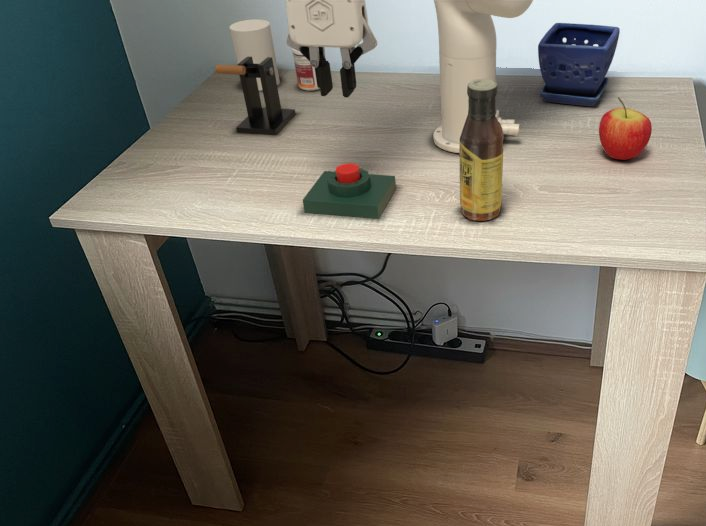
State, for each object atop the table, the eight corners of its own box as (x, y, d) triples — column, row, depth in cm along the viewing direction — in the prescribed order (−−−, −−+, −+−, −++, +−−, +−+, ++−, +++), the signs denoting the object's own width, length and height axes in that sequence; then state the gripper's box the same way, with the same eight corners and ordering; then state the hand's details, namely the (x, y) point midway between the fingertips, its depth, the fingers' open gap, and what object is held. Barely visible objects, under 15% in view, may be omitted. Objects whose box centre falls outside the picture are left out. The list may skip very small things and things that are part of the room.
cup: (284, 77, 160) (274, 19, 152) (274, 90, 153) (263, 31, 146) (248, 77, 160) (236, 19, 153) (236, 90, 154) (224, 31, 147)
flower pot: (601, 112, 138) (608, 47, 130) (533, 105, 142) (536, 42, 134) (614, 87, 147) (621, 25, 139) (550, 81, 151) (553, 21, 143)
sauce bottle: (458, 204, 112) (455, 75, 100) (498, 201, 113) (500, 72, 100) (462, 226, 107) (460, 92, 95) (504, 223, 108) (508, 89, 95)
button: (363, 174, 114) (362, 164, 112) (356, 185, 111) (354, 174, 110) (341, 172, 114) (340, 162, 113) (333, 183, 112) (332, 172, 110)
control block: (396, 188, 117) (394, 165, 115) (378, 218, 110) (376, 195, 107) (326, 182, 120) (322, 160, 117) (304, 212, 112) (300, 189, 110)
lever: (242, 77, 124) (241, 62, 123) (215, 76, 125) (214, 61, 124) (272, 78, 135) (272, 64, 134) (248, 77, 136) (247, 63, 135)
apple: (600, 143, 127) (607, 86, 121) (650, 148, 125) (659, 91, 118) (592, 163, 121) (598, 104, 115) (643, 169, 119) (653, 110, 113)
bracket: (276, 135, 136) (264, 71, 128) (236, 132, 137) (222, 69, 130) (295, 114, 143) (285, 52, 135) (258, 112, 145) (246, 51, 137)
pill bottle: (322, 79, 158) (314, 25, 151) (331, 87, 153) (324, 33, 146) (294, 84, 156) (285, 30, 149) (303, 93, 151) (294, 38, 144)
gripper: (248, -45, 91) (275, 100, 103) (372, -44, 88) (384, 106, 100) (272, -57, 97) (294, 81, 108) (389, -57, 93) (399, 86, 105)
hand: (337, 92), depth 104 cm, fingers closed
